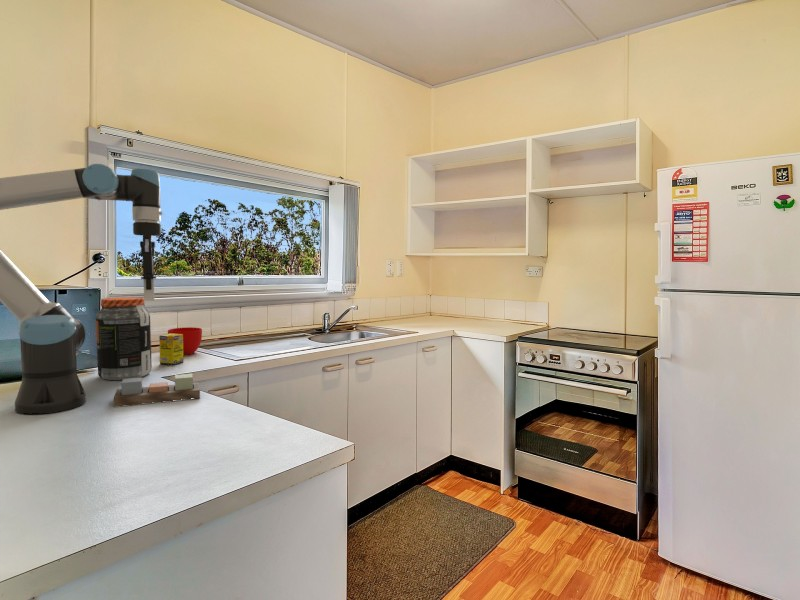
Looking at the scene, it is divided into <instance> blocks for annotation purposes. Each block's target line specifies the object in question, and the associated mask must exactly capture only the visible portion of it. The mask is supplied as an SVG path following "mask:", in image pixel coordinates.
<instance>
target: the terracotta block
mask: <svg viewBox="0 0 800 600" xmlns="http://www.w3.org/2000/svg"><path fill="white" fill-rule="evenodd" d="M168 383H169V382H168V381H165V382H164V381H163V382H153V383H152V382H151V383H149V384H148V387H149V393H153V392H164V391H168V385H169V384H168Z"/></svg>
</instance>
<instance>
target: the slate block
mask: <svg viewBox="0 0 800 600" xmlns="http://www.w3.org/2000/svg"><path fill="white" fill-rule="evenodd" d="M120 384H121V387H120V389H122V395H130V394H141V393H142V387H143V378H142V377H139V378H130V379H123V380H121V383H120Z"/></svg>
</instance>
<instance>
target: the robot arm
mask: <svg viewBox="0 0 800 600" xmlns="http://www.w3.org/2000/svg"><path fill="white" fill-rule="evenodd" d="M85 198H86V199H89V200H90V199H91V200H98V201H119V202H120V201H121V202H122V201H123V202H124V201H125V202H132V203H131V204H132V206H131V209H132V211H131V213H132V220H133V223H132V233H133V235H134V236H142V240H141V241H139V246H140V255H141V256H142V272H143V273H142V276H140V279H141V280H143V298H144V302H145V301H146V302H147V301H148V302H149V301H155V280H156V279H157V276H155V273H154V257H155V256H156V255H155V254H156V253H155V248H156V241H153V237H159V236H162V224H161V223H160V222H161V221H162V219H161V217H162V216H163V215H164V212H163V211H161V179H160V174H159V172H158V171H156V170H154V169H149V168H133V169H131V173H130V174H117V173H116V171H114V169H112V168H111V167H109V166H108V165H105V164H101V163H92V164H89V166H86V167H81V168H74V169H65V170H56V171H54V170H53V171H49V172H48V171H47V172H39V173H31V174H30V173H29V174H22V175H15V176H14V175H13V176H6V177H5V176H4V177H0V211H4V210H9V209H16V208H17V209H18V208H24V207H31V206H37V205H44V204H50V203H58V202H64V201H71V200H78V199H85ZM0 302H1V304H3V306H5V308H7V310H9V311H10V313H11V314H12V315H13V316H14V317H15V318H16V319H17V320H18V321H19V326H18V330H19V332H18V335H19V339H20V340H19V341H20V355H21V356H20V357H21V358H20V359H21V373H22V375H21V376H22V378H21V383H20V387H19V389H18V392H17V395H16V398H15V401H14V411H15V413H17V412H18V414H21V413H27V414H26V415H33V414H32V413H45V414H49V413H48V412H53V413H59V412H64V411H68V410H71V409H75V408H77V407H80V406H82V405H84V404H85V403H86V402H87V401H86V399H87V397H86V392H85V390H84V387H83V385H82V382H81V381H80V378H79V376H78V370H77V369H78V367H77V365H78V364H77V351H78V352H79V350H80V349H81V347H83V344H84V343H85V340H86V336H87V334H86V327H85V325H84V324H83V322H82V321H81V320H80V319H79V318H78V317H76V316H75V315H72V314H70V313H69V312H68V310H67V309H65V308H64V306H62V304H60V302H53V301H50V300H49V299H47V297H46V296H45V295H44V294H43V293H42V292H41V291H40V290H39V289H38V288H37V286H36V285H34V283H33V282H32V281H31V280H30V279H29V278H28V277H27V276H26V275H25V274H24V273H23V272H22V271H21V270H20V269H19V267H18V266H16V264H15V263H14V262H13V261H12V260H11V259H10V258H9V257H8V256H7V255H6V254H5V253H4V251H2V250H1V249H0ZM58 411H59V412H58ZM28 413H29V414H28ZM30 413H31V414H30Z"/></svg>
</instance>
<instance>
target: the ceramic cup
mask: <svg viewBox="0 0 800 600" xmlns="http://www.w3.org/2000/svg"><path fill="white" fill-rule="evenodd" d="M167 334H183V356H185V355H186V356H187V355H193V354H195V352H196V351H197V350H198V349H199V348H200V345H201V342H202V337H203V329H202V328H201V327H192V326H191V327H175V328H170V329H168V330H167Z"/></svg>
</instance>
